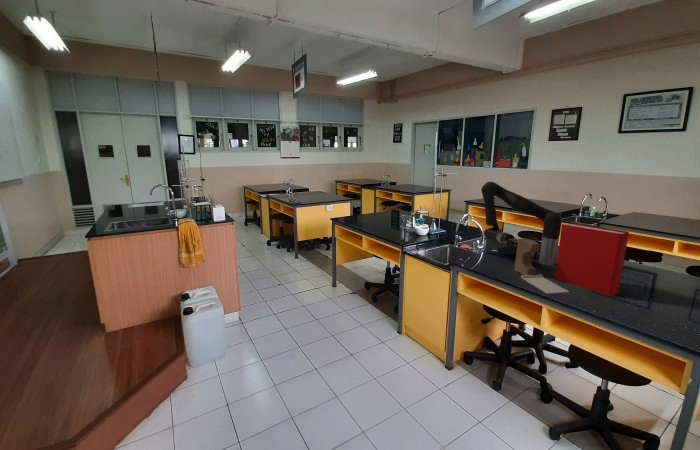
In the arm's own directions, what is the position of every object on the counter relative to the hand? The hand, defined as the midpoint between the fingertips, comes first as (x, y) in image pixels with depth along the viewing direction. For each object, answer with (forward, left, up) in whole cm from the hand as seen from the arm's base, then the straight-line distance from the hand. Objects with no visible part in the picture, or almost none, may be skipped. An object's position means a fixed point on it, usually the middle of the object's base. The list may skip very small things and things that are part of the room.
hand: (521, 245), depth 192 cm
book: (-21, +26, -16) cm, 37 cm away
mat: (0, +22, -16) cm, 27 cm away
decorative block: (0, +5, -16) cm, 17 cm away
